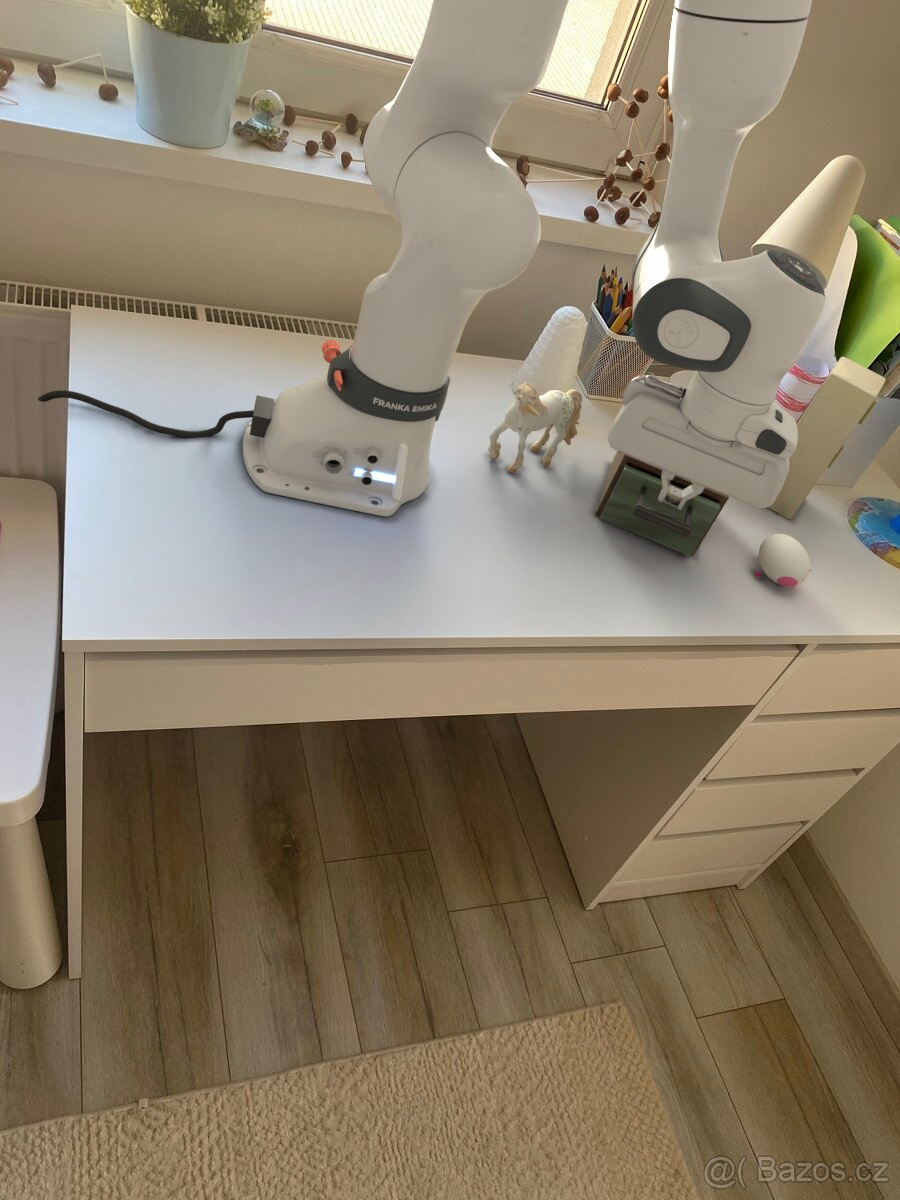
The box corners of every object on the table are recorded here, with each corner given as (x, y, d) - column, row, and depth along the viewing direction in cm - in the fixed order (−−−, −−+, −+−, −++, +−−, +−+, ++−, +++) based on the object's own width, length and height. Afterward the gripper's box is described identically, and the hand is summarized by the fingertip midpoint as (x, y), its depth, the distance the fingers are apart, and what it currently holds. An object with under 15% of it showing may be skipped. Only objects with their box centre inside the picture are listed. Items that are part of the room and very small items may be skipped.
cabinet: (693, 556, 116) (728, 498, 109) (594, 515, 116) (624, 454, 110) (701, 502, 126) (734, 446, 120) (610, 464, 126) (638, 406, 120)
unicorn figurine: (456, 476, 114) (488, 385, 105) (528, 426, 127) (561, 342, 119) (503, 506, 112) (539, 415, 103) (570, 452, 126) (608, 368, 117)
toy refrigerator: (795, 524, 129) (881, 398, 115) (749, 497, 131) (829, 371, 117) (807, 502, 135) (891, 380, 121) (763, 477, 136) (841, 354, 123)
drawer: (686, 583, 109) (717, 534, 104) (591, 543, 110) (617, 493, 105) (698, 506, 123) (725, 460, 118) (614, 470, 124) (637, 423, 119)
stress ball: (785, 613, 118) (830, 584, 116) (764, 589, 112) (811, 558, 110) (756, 571, 123) (800, 542, 121) (735, 547, 117) (780, 516, 115)
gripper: (630, 380, 97) (583, 483, 106) (810, 453, 96) (747, 550, 105) (638, 357, 101) (592, 457, 111) (809, 426, 101) (749, 521, 110)
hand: (669, 503), depth 108 cm, fingers closed
